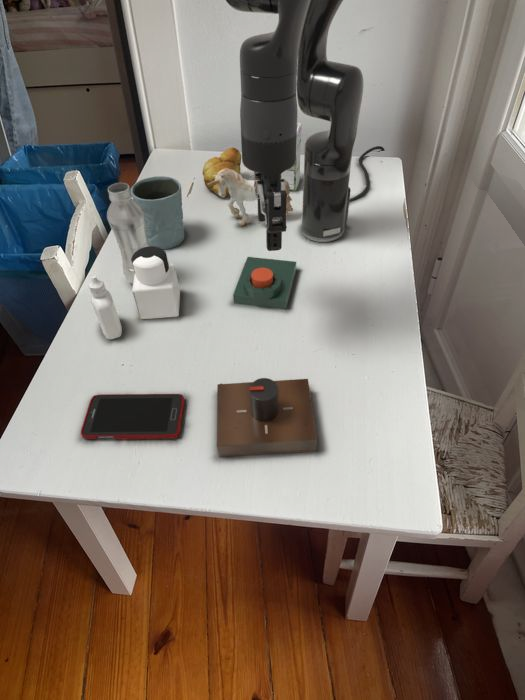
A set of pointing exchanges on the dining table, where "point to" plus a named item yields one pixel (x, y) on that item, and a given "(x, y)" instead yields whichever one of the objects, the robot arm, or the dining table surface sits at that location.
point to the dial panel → (265, 436)
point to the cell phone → (133, 416)
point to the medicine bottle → (155, 284)
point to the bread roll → (221, 167)
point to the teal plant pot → (161, 210)
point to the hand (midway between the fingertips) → (269, 234)
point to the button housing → (270, 295)
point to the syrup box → (294, 172)
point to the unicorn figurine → (241, 192)
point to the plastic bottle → (126, 225)
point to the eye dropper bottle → (105, 309)
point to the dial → (264, 399)
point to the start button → (262, 277)
